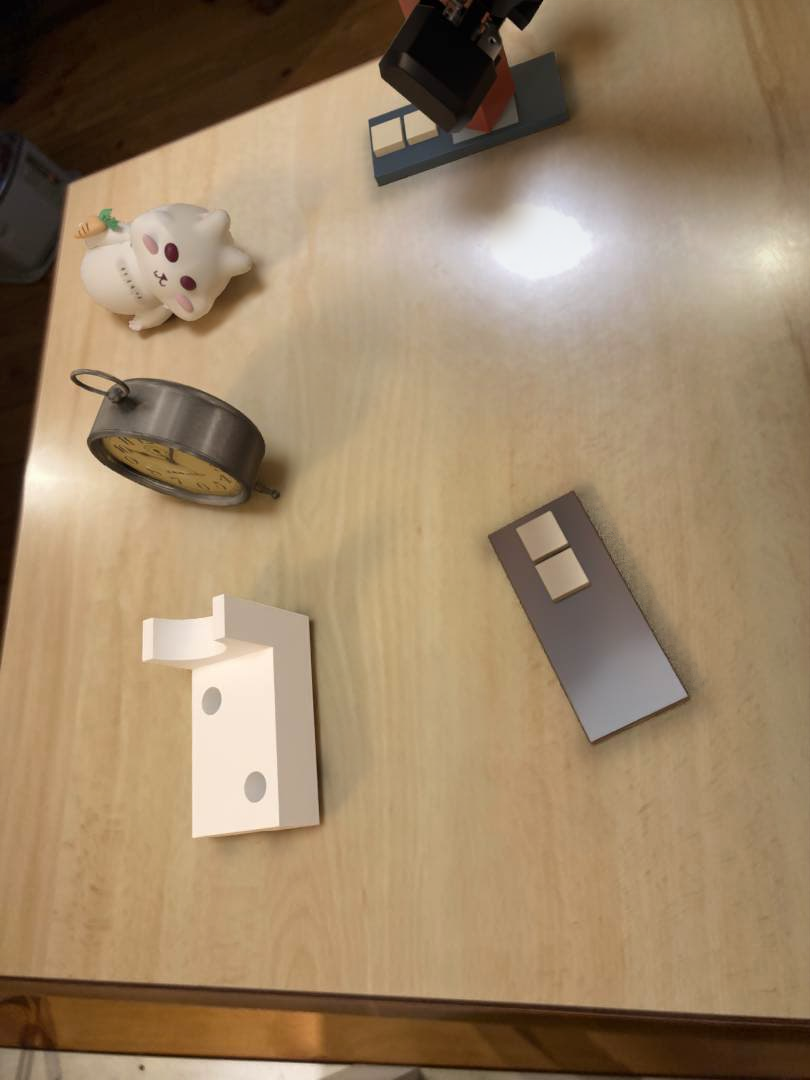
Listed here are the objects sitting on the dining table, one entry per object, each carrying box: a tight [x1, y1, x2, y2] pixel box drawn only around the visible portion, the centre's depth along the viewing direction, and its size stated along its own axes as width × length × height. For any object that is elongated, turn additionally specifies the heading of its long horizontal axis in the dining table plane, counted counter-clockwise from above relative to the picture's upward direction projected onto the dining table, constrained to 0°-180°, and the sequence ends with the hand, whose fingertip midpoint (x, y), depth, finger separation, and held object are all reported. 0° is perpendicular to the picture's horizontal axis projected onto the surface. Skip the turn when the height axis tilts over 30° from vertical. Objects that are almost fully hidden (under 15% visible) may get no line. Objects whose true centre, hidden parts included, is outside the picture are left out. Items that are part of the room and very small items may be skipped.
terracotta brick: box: [398, 0, 515, 133], centre depth 58 cm, size 4×4×11 cm
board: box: [487, 490, 691, 746], centre depth 49 cm, size 6×14×2 cm, turn 23°
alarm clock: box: [69, 368, 281, 507], centre depth 54 cm, size 11×5×16 cm, turn 76°
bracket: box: [141, 593, 320, 839], centre depth 51 cm, size 13×7×8 cm, turn 6°
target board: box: [367, 51, 570, 187], centre depth 64 cm, size 15×6×2 cm, turn 96°
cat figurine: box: [73, 202, 253, 331], centre depth 65 cm, size 10×8×15 cm
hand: (444, 42), depth 59 cm, fingers closed on terracotta brick, 4 cm apart
